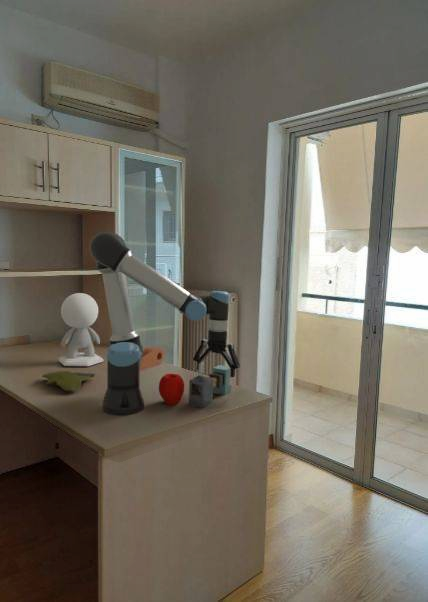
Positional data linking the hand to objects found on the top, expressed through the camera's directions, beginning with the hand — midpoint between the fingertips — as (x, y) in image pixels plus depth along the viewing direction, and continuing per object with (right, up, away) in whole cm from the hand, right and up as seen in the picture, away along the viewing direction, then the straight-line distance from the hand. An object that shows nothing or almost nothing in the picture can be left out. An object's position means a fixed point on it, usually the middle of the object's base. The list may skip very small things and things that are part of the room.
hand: (214, 381), depth 180 cm
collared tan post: (-1, -2, -2) cm, 3 cm away
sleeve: (-6, -7, -10) cm, 13 cm away
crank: (-35, 0, +45) cm, 57 cm away
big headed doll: (-69, +1, +49) cm, 84 cm away
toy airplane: (-62, -3, +12) cm, 63 cm away
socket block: (+3, -6, +5) cm, 8 cm away
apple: (-17, -7, -9) cm, 20 cm away
